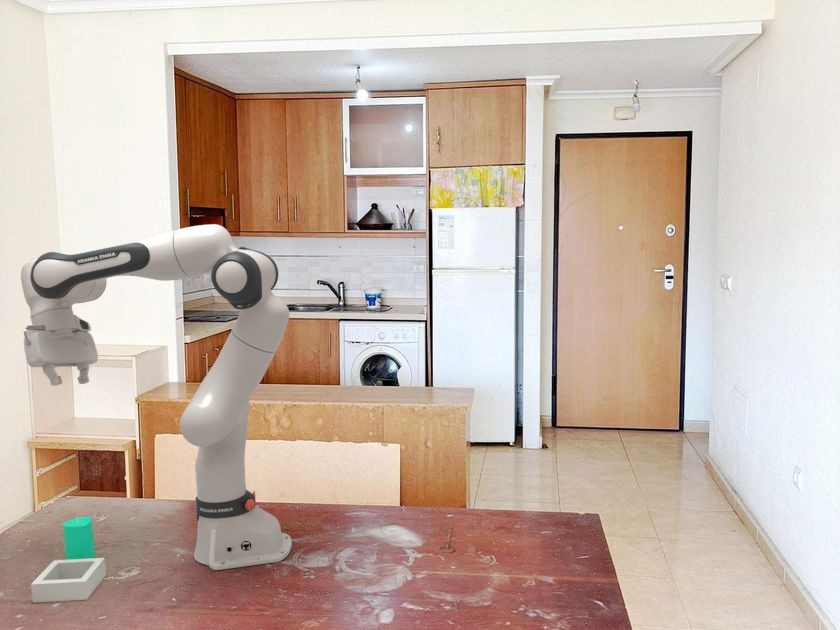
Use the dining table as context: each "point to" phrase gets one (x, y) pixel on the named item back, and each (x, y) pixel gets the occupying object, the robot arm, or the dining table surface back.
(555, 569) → the dining table surface
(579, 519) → the dining table surface
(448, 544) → the key
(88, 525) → the candle
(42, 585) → the frame
